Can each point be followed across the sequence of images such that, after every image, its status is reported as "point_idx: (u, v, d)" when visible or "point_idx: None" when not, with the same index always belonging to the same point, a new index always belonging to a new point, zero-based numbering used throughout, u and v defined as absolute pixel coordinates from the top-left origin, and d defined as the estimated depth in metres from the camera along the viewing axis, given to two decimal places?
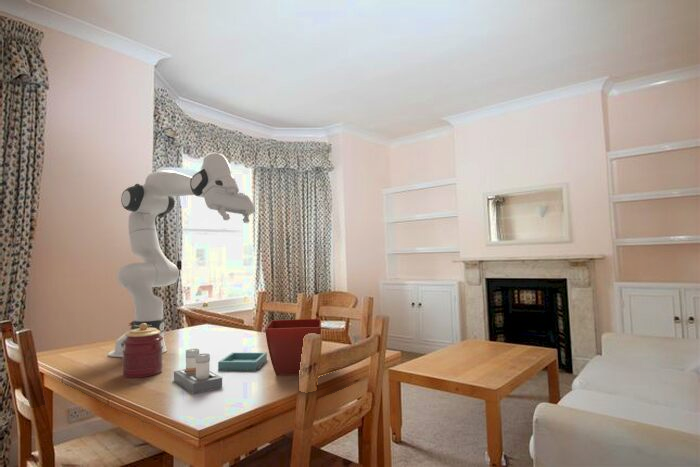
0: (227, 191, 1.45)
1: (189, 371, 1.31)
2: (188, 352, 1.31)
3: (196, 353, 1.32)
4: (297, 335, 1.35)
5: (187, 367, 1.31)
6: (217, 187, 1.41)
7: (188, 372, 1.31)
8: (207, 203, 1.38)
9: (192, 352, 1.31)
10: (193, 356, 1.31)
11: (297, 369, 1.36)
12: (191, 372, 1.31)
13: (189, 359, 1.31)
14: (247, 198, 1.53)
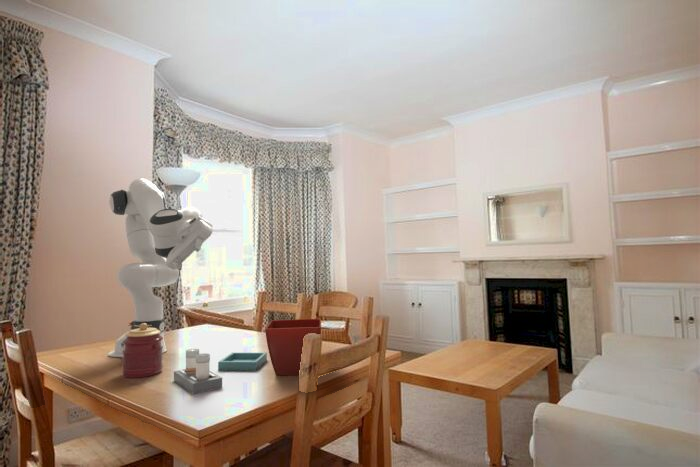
0: None
1: (189, 371, 1.31)
2: (188, 352, 1.31)
3: (196, 353, 1.32)
4: (297, 335, 1.35)
5: (187, 367, 1.31)
6: None
7: (188, 372, 1.31)
8: (205, 226, 1.35)
9: (192, 352, 1.31)
10: (193, 356, 1.31)
11: (297, 368, 1.36)
12: (191, 372, 1.31)
13: (189, 359, 1.31)
14: None
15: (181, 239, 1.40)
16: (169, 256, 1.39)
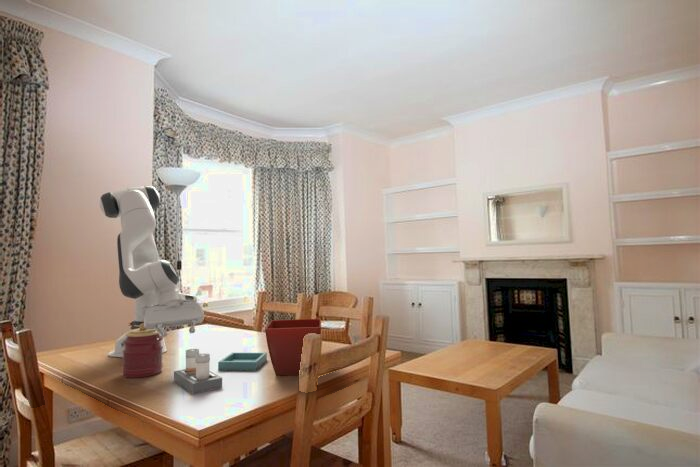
0: None
1: (189, 371, 1.31)
2: (188, 352, 1.31)
3: (196, 353, 1.32)
4: (297, 335, 1.35)
5: (187, 367, 1.31)
6: None
7: (188, 372, 1.31)
8: None
9: (192, 352, 1.31)
10: (193, 356, 1.31)
11: (297, 369, 1.36)
12: (191, 372, 1.31)
13: (189, 359, 1.31)
14: None
15: (171, 306, 1.45)
16: (151, 314, 1.39)
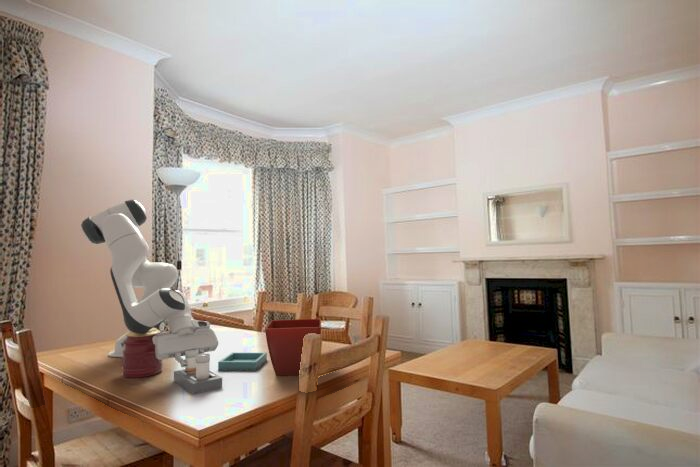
0: None
1: (189, 371, 1.31)
2: (187, 352, 1.31)
3: (195, 353, 1.32)
4: (297, 335, 1.35)
5: (187, 367, 1.31)
6: None
7: (188, 372, 1.31)
8: None
9: (191, 352, 1.31)
10: (192, 356, 1.31)
11: (297, 368, 1.36)
12: (190, 372, 1.31)
13: (188, 359, 1.31)
14: None
15: (184, 334, 1.36)
16: (163, 343, 1.31)
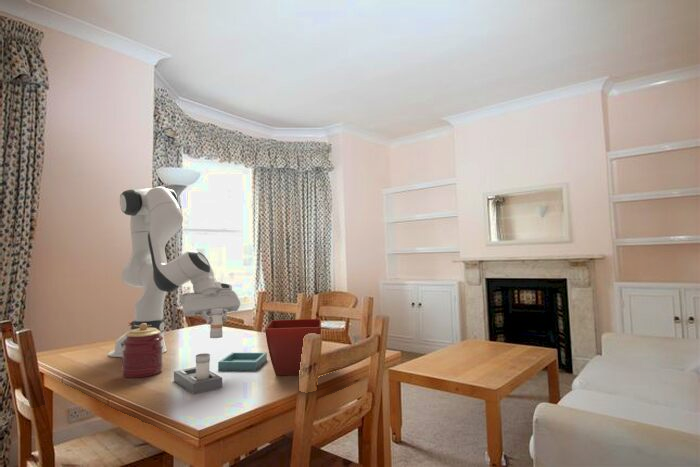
0: None
1: (214, 328, 1.39)
2: (213, 310, 1.40)
3: (220, 311, 1.41)
4: (297, 335, 1.35)
5: (212, 324, 1.40)
6: None
7: (213, 328, 1.40)
8: None
9: (217, 310, 1.40)
10: (217, 314, 1.40)
11: (297, 368, 1.36)
12: (215, 328, 1.40)
13: (214, 316, 1.40)
14: None
15: (208, 294, 1.45)
16: (190, 302, 1.40)
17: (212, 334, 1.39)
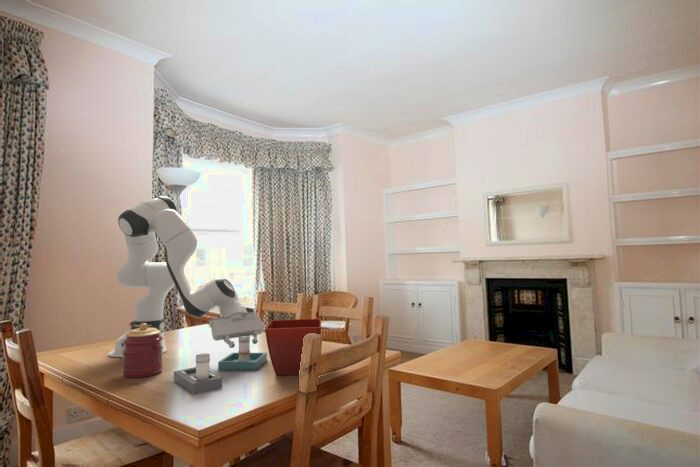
0: None
1: (242, 354, 1.49)
2: (241, 337, 1.50)
3: (248, 338, 1.50)
4: (297, 335, 1.35)
5: (240, 351, 1.50)
6: None
7: (241, 355, 1.49)
8: None
9: (244, 337, 1.50)
10: (245, 341, 1.50)
11: (297, 368, 1.36)
12: (243, 355, 1.49)
13: (242, 343, 1.49)
14: None
15: (235, 319, 1.55)
16: (219, 326, 1.49)
17: (240, 360, 1.49)
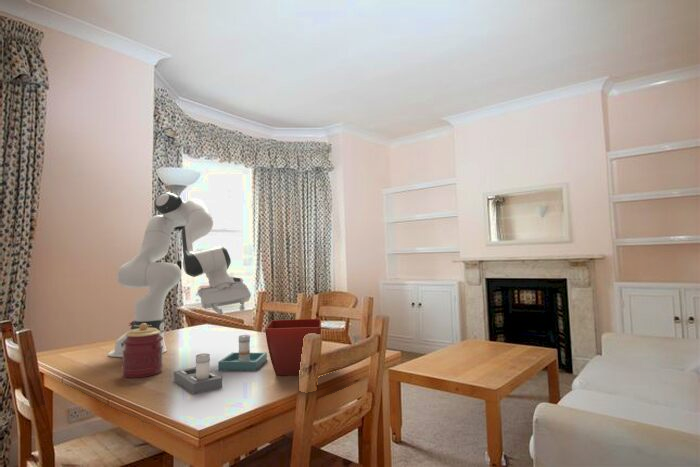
0: None
1: (242, 354, 1.49)
2: (241, 337, 1.50)
3: (248, 338, 1.50)
4: (297, 335, 1.35)
5: (240, 351, 1.50)
6: None
7: (241, 355, 1.49)
8: None
9: (244, 337, 1.50)
10: (245, 341, 1.50)
11: (297, 369, 1.36)
12: (243, 355, 1.49)
13: (242, 343, 1.49)
14: None
15: (222, 288, 1.66)
16: (207, 296, 1.60)
17: (240, 360, 1.49)
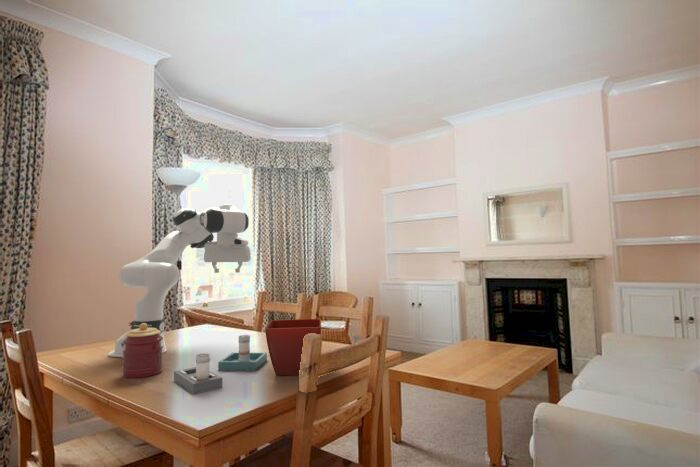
0: None
1: (242, 354, 1.49)
2: (241, 337, 1.50)
3: (248, 338, 1.50)
4: (297, 335, 1.35)
5: (240, 351, 1.50)
6: None
7: (241, 355, 1.49)
8: (248, 257, 1.74)
9: (244, 337, 1.50)
10: (245, 341, 1.50)
11: (297, 369, 1.36)
12: (243, 355, 1.49)
13: (242, 343, 1.49)
14: None
15: (222, 248, 1.74)
16: (208, 253, 1.75)
17: (240, 360, 1.49)
